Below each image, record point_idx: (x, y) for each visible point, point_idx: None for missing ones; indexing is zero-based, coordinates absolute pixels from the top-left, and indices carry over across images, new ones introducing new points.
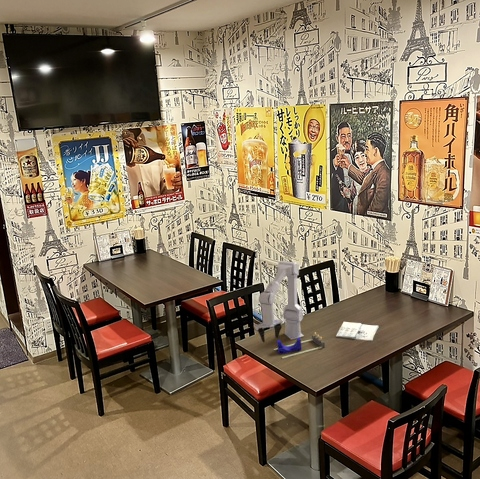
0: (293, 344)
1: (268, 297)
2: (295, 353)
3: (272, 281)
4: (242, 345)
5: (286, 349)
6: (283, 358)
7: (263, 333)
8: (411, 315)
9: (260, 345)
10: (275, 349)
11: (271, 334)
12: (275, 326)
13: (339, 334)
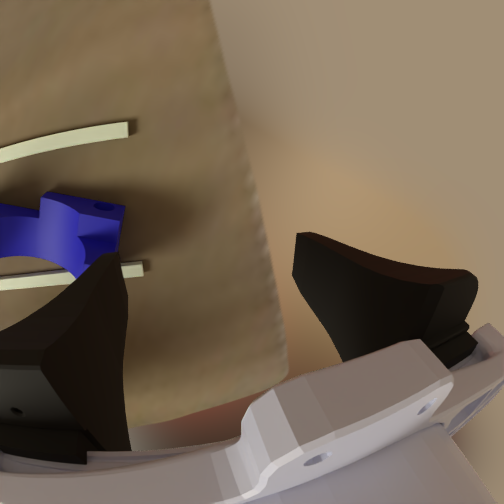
0: (14, 281)
1: None
2: (21, 156)
3: None
4: (285, 361)
5: (61, 213)
6: (120, 122)
7: (404, 275)
8: None
9: (204, 343)
10: (133, 266)
11: None
12: (106, 426)
13: None
